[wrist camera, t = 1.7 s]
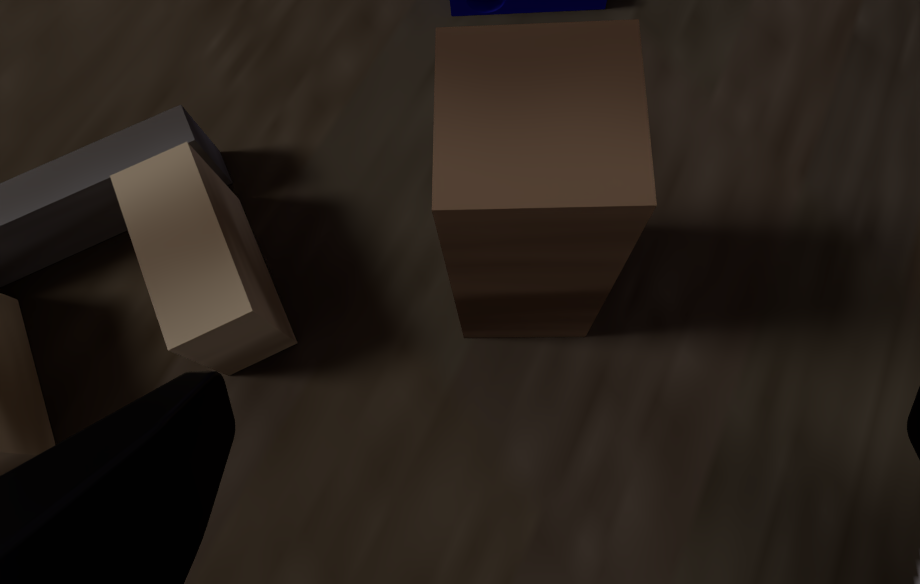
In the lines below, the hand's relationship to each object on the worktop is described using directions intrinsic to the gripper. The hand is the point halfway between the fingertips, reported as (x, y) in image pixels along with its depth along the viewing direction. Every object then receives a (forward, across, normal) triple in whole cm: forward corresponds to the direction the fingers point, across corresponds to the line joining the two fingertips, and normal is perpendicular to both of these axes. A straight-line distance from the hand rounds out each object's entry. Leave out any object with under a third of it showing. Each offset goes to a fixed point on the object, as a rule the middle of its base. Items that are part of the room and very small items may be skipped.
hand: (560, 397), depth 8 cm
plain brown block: (+12, 0, +5) cm, 13 cm away
